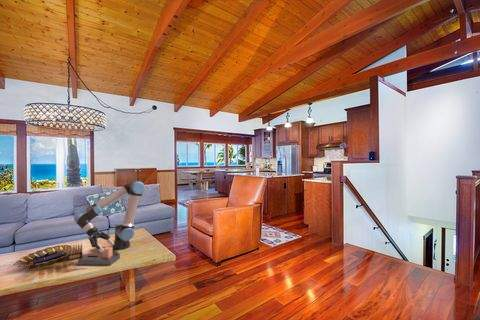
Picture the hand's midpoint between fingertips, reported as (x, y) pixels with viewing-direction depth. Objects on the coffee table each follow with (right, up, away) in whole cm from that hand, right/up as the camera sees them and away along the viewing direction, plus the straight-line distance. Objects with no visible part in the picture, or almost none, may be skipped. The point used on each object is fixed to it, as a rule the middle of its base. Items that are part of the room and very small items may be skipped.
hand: (108, 248), depth 180 cm
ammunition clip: (-31, -11, +4) cm, 33 cm away
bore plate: (-7, -11, 0) cm, 13 cm away
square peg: (-1, -11, 0) cm, 11 cm away
